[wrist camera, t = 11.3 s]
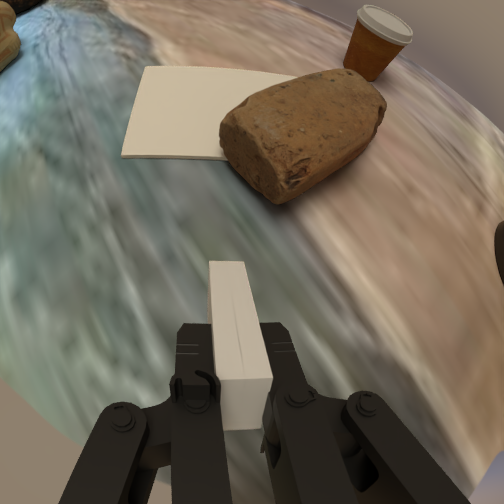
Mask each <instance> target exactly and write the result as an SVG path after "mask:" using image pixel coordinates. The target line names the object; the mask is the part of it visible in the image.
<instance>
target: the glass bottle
mask: <svg viewBox="0 0 504 504" xmlns="http://www.w3.org/2000/svg"><path fill="white" fill-rule="evenodd" d="M0 1H3V2H6V3H7V4H9V5H10V6H11V8H12V9H13V10H14V12H15V14H17V13H20V12H22V11H25V10H27V9H29V8H30V7H32V6H34V5H35V4H37V3H38V2H39V1H41V0H0Z"/></svg>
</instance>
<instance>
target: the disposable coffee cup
mask: <svg viewBox="0 0 504 504" xmlns="http://www.w3.org/2000/svg"><path fill="white" fill-rule="evenodd" d="M357 18H358V19H357V22H356V25H355V28H354V31H353V34H352V37H351V40H350V43H349V46H348V50H347V53H346V56H345V59H344V61H343V64H344V67H345V68H346V69H351V70H353V71H356V72H357V73H358V74H360V75H361V76H362V77H363V78H364V79H365V80H366V81H370V82H371V81H374V80H375V79H376V78H377V77H378V76H379V75H380V73H381V72H382V71H383V70H384V69H385V68H386V67H387V66H388V64H389V63H390V62H391V61H392V60H393V59H394V58H395V57H396V56H397V54H398V53H399V52H400V51H401V50H402V49H403V48H404V47H405V46H406V45H408V44H410V43H411V42H412V35H413V32H412V30H411V28H410V27H409V26H408V25H407V24H406V23H405V22H404V21H402V20H401V19H400V18H398V17H397V16H395V15H394V14H392V13H390V12H388V11H386V10H384V9H382V8H379V7H376V6H373V5H364V6H363V7H362V8H361V9H359V10H358V11H357Z"/></svg>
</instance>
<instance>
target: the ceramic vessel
mask: <svg viewBox="0 0 504 504" xmlns="http://www.w3.org/2000/svg"><path fill="white" fill-rule="evenodd" d="M15 22H16V15H15V12H14V10H13V9H12V8H11V6H10V5H9V4H7V3H6V2H3V1H0V72H1V71H2V70H3V69H4V68H5V67H6V66H7V65H8V64H9V63H10V62H11V61H12V60H14V59H15V58H16V56H17V55H18V52H19V49H20V46H21V42H20V39H19V36H18V34H17V33H16V32H15V31H14V30H13V26H14V24H15Z"/></svg>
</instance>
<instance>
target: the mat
mask: <svg viewBox="0 0 504 504" xmlns="http://www.w3.org/2000/svg"><path fill="white" fill-rule="evenodd" d="M295 78H298V77H294V76H288V75H281V74H274V73H267V72H259V71H250V70H241V69H229V68H215V67H195V66H146V67H145V70H144V73H143V76H142V79H141V83H140V86H139V89H138V92H137V96H136V99H135V102H134V106H133V109H132V113H131V117H130V120H129V124H128V128H127V132H126V136H125V140H124V144H123V148H122V153H121V157H122V158H178V159H207V160H226V161H228V160H227V158H226V157H225V155H224V151H223V149H222V148H221V147H220V144H219V140H220V138H219V128H220V123H221V121H222V120H223V119H224V117H225V116H226V114H227V113H228V112H230V111H231V110H232V109H234V108H235V107H236V106H238V105H239V104H241V103H242V102H243V101H244V100H245V99H246V98H247V97H248V96H250V95H252V94H254V93H256V92H258V91H261V90H263V89H266V88H268V87H270V86H273V85H275V84H279V83H282V82H285V81H289V80H292V79H295Z"/></svg>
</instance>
